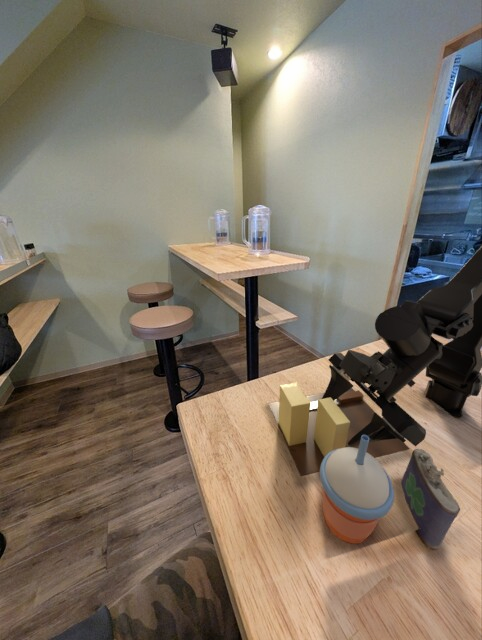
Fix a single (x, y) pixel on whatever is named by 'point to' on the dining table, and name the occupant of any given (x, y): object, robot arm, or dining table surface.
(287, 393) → the butter block
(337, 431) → the block
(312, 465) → the board
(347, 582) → the dining table surface
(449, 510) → the flask
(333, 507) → the cup with straw
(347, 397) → the knife
